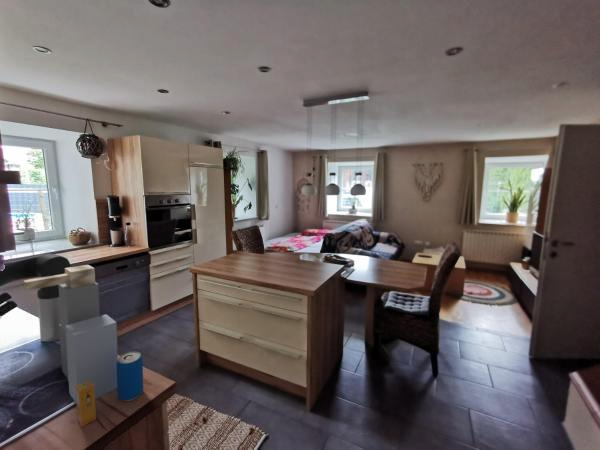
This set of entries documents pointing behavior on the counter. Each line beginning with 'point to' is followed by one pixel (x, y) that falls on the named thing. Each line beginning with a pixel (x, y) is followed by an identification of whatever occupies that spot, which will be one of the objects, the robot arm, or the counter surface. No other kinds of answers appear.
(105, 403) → the counter surface
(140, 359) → the beverage can
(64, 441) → the counter surface
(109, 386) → the grey tall block
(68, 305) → the tall tower
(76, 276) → the mallet
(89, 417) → the supplement box
